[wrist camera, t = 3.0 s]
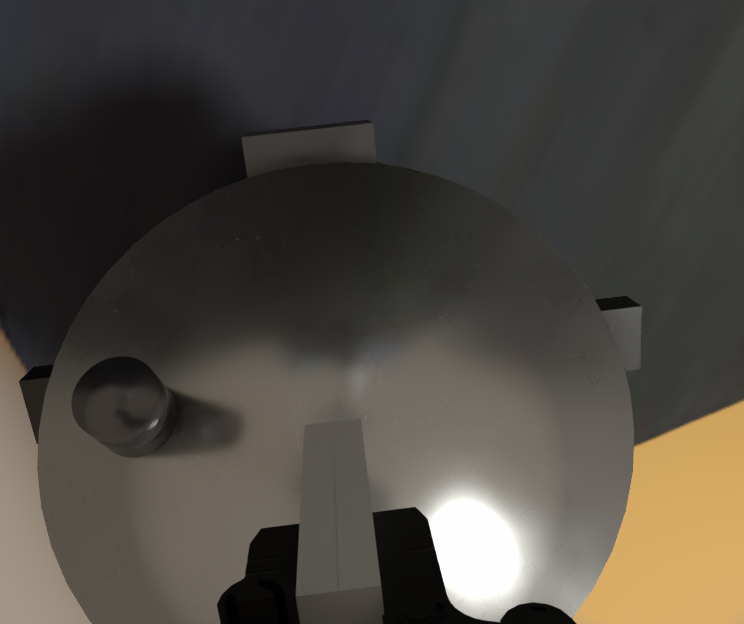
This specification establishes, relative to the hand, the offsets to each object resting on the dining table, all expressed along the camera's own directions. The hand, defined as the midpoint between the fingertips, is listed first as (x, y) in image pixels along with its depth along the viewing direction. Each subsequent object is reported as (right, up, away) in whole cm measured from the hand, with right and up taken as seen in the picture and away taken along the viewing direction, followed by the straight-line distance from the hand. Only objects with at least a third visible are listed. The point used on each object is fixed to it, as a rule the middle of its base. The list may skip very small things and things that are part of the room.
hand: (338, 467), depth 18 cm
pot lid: (0, 0, +3) cm, 3 cm away
